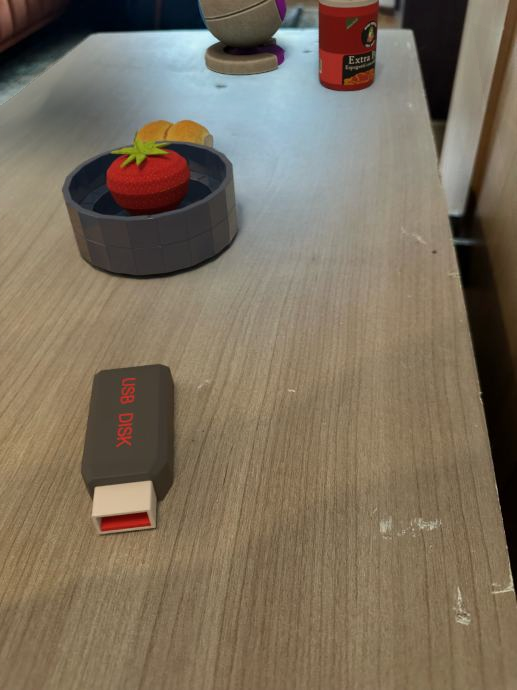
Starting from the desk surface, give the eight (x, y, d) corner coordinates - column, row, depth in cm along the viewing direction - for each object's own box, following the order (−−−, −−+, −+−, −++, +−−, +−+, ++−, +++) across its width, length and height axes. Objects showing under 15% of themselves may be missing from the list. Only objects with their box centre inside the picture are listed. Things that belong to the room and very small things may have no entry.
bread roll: (150, 140, 78) (144, 107, 76) (220, 144, 76) (216, 110, 74) (122, 171, 72) (115, 136, 70) (198, 175, 70) (193, 140, 68)
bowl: (93, 298, 54) (76, 236, 50) (68, 216, 65) (52, 160, 61) (261, 254, 58) (257, 193, 54) (210, 183, 69) (203, 129, 65)
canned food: (348, 96, 85) (351, 5, 78) (306, 82, 90) (305, -5, 83) (386, 80, 89) (392, -9, 82) (344, 68, 94) (346, -17, 87)
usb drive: (173, 383, 46) (167, 354, 44) (173, 528, 37) (165, 499, 35) (100, 391, 46) (91, 362, 44) (82, 538, 37) (70, 510, 35)
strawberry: (202, 238, 59) (188, 133, 53) (120, 252, 58) (96, 147, 52) (192, 208, 64) (178, 108, 57) (116, 221, 63) (93, 120, 56)
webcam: (289, 72, 94) (285, -47, 84) (202, 77, 94) (188, -40, 85) (287, 45, 104) (283, -64, 94) (208, 50, 104) (196, -58, 94)
